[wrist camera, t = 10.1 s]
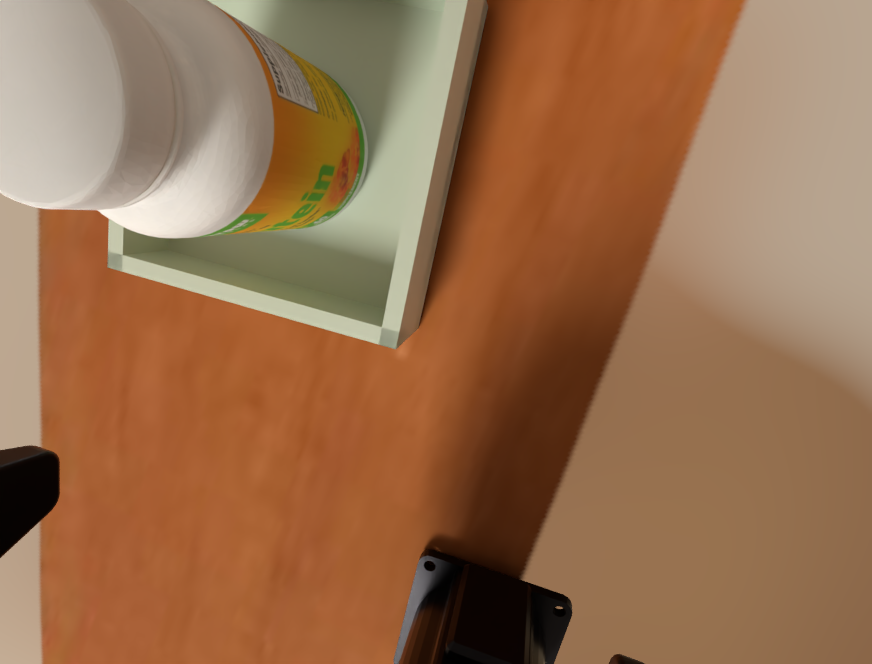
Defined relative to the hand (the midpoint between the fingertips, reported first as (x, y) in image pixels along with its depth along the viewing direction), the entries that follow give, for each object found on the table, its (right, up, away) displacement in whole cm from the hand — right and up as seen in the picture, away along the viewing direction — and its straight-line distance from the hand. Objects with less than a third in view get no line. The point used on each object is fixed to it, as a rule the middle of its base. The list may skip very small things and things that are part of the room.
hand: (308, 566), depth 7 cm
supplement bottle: (-3, +10, +10) cm, 15 cm away
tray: (-3, +10, +11) cm, 15 cm away
